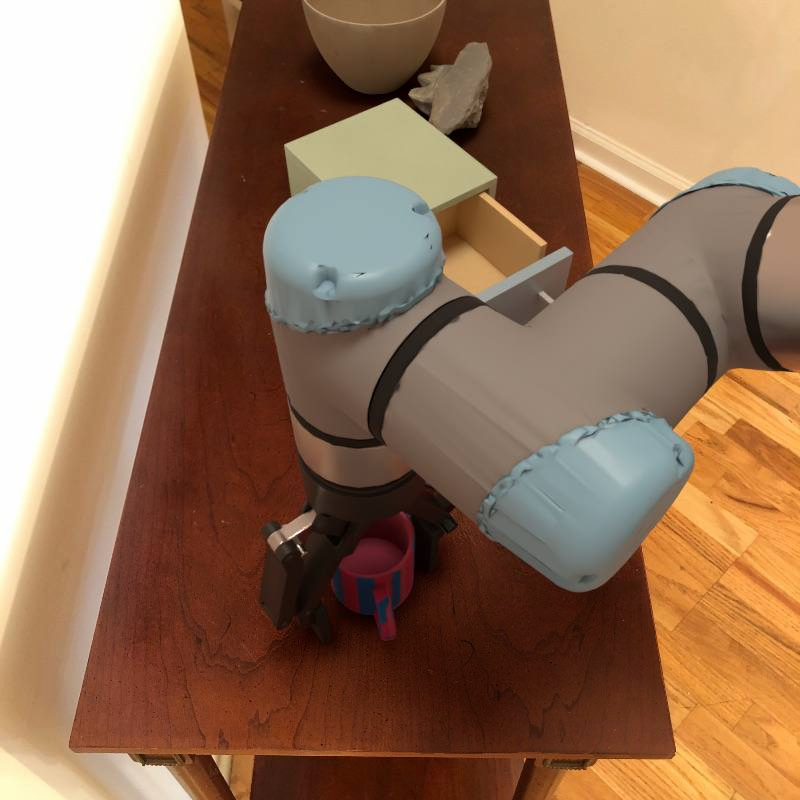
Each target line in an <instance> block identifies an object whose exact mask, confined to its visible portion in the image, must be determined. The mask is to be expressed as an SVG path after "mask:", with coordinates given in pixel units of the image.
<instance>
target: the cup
mask: <svg viewBox="0 0 800 800" xmlns="http://www.w3.org/2000/svg"><path fill="white" fill-rule="evenodd" d="M415 557H416V556H415V530H414V526H413V524H412V521H411V519H410V515H408V514H406V513H404V512H400V513H398V514H397V515H395V516H393V517H390V518H388V519H385V520H381V521H378V522H376V523H375V524H374V525H373V526H372V527H371V529H370V531H368V532H366V533H364V535H363V537H362V538H361V540H360V542H359V544H358V546H357V548H356V549H355V551H354V553H353V554H352V555H349V556H347V557H344V558H343V559H342V561H341V563H340V565H339V567H338V569H337V571H336V572H335V574H334V576H333V578H332V580H331V582H330V585H331V589H332V591H333V593H334V596H335V597H336V598H337V600H338V601H339V603H341V604H342V605H343V606H344V607H345V608H346V609H348V610H350V612H351V611H352V612H354V613H357V614H360V615H364V616H374V619H375V622H376V626H377V631H378V633H379V636H380V639H381V640H382V641H386V642H388V641H392V640H394V639H396V637H397V625H396V619H395V612H394V610H395V609H397V608H398V607H400V606H401V604H403V603H404V602H405V600H407V598H408V596H409V595H410V593H411V591H412V588H413V587H414V586H413V585H414V582H415V581H414V580H415V560H416V559H415Z"/></svg>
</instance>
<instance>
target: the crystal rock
mask: <svg viewBox="0 0 800 800" xmlns="http://www.w3.org/2000/svg"><path fill="white" fill-rule="evenodd" d="M429 67H430V71H429V72H424V73H423V72H422V73H420V74H418V76H417V81H418V83H419V84H420V86H421V87H414V88H412V89H410V91H409V92H408V97H409V98H410V99H411V101H412V102H413V103H414V105H415V106H416V107H417V108H418V109H419V110H420V111H421V112H422V113H423V114H425V115H427V116H429V119H428V122H429V123H430V124H431V125H433V126H434V127H435V128H436V129H438V130H439V131H440V132H441V133H443V134H444V135H445V136H449V135H451V133H452V132H454V131H456V130H460V129H470V128H471V129H475V128H477V127H478V124H479V123H480V121H481V117H482V114H483V113H482V112H483V111H482V110H483V106H484V102H485V101H486V98H487V93H488V90H489V77H490V74H491V71H492V67H493V60H492V56H491V55H490V50H489V47H488V44H487V42H486V41H484V42H481V43H480V42H477V41H472V42H468V43H467V44H466V45H465V47H463V48H462V50H460V51H459V53H458V55H456V58H455V60H454V63H453V64H439V65H437V64H430V65H429Z"/></svg>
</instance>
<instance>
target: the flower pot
mask: <svg viewBox="0 0 800 800" xmlns="http://www.w3.org/2000/svg"><path fill="white" fill-rule="evenodd" d="M447 1H448V0H301V5H302V9H303V13H304V17H305V21H306V24H307V26H308V29H309V31H310V35H311V37H312V39H313V41H314V43H315V45H316V47H317V49H318V51H319V53H320V55H321V56H322V58H323V59H324V61H325V62H326V63H327V65H328V66H329V68H330V69H331V70H332V71H333V73H335V74H336V76H337V77H338V78H339V79H340V80H341V81H342V82H344V84H345V85H346V86H348V87H349V88H350V89H352V90H354V91H356V92H358V93H361V94H367V95H384V94H385V95H386V94H390V93H393V92H395V91H396V90H399V89H400V88H402V87H403V86H404V85H405V84H407V82H408V81H410V79H411V78H412V77H413V76H414V75H415V74H416V73H417V72H418V70H419V69H420V68H421V67H422V65H423V64H424V62H425V61H426V60H427V58H428V56H429V54H430V53H431V51H432V49H433V47H434V45H435V43H436V40H437V38H438V35H439V33H440V30H441V27H442V23H443V21H444V20H443V19H444V17H445V13H446V8H447Z"/></svg>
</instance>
